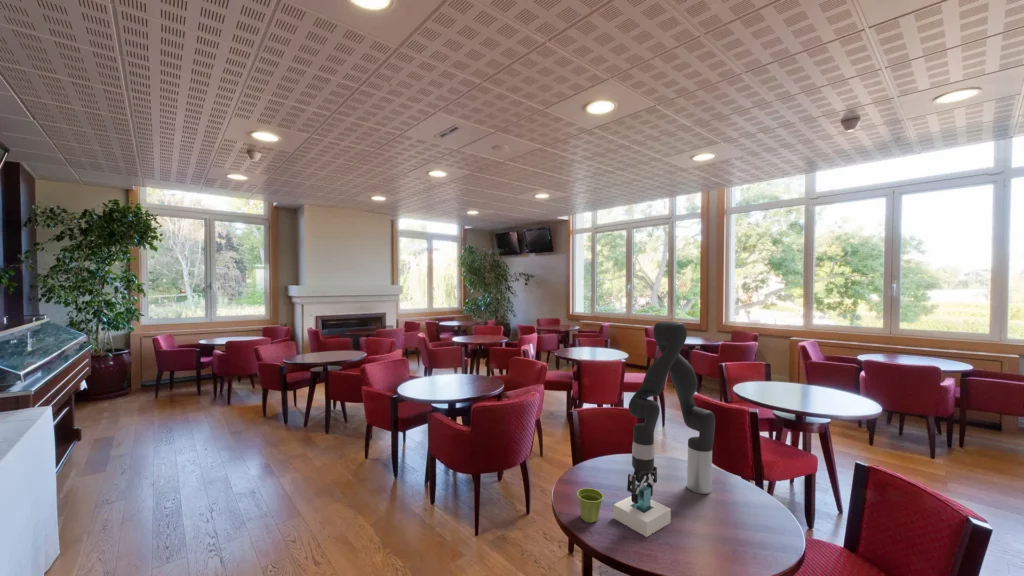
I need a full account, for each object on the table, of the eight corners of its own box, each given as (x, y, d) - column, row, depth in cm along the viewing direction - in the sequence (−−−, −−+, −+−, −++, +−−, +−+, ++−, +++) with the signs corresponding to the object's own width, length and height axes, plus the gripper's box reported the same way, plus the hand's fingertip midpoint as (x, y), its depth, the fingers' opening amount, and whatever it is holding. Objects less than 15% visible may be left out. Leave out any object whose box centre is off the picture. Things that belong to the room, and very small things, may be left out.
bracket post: (640, 516, 155) (641, 483, 155) (650, 521, 152) (650, 487, 152) (633, 519, 153) (634, 486, 152) (643, 525, 150) (644, 491, 149)
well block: (637, 505, 162) (637, 492, 162) (670, 522, 151) (670, 508, 151) (613, 518, 154) (613, 504, 154) (646, 537, 143) (647, 522, 142)
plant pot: (604, 514, 156) (604, 490, 156) (601, 528, 147) (601, 503, 147) (579, 509, 159) (579, 486, 159) (574, 522, 150) (574, 498, 150)
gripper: (646, 446, 159) (645, 489, 159) (621, 455, 150) (620, 500, 151) (663, 453, 153) (662, 497, 154) (639, 463, 144) (638, 510, 145)
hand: (642, 499), depth 152 cm, fingers open, 8 cm apart
